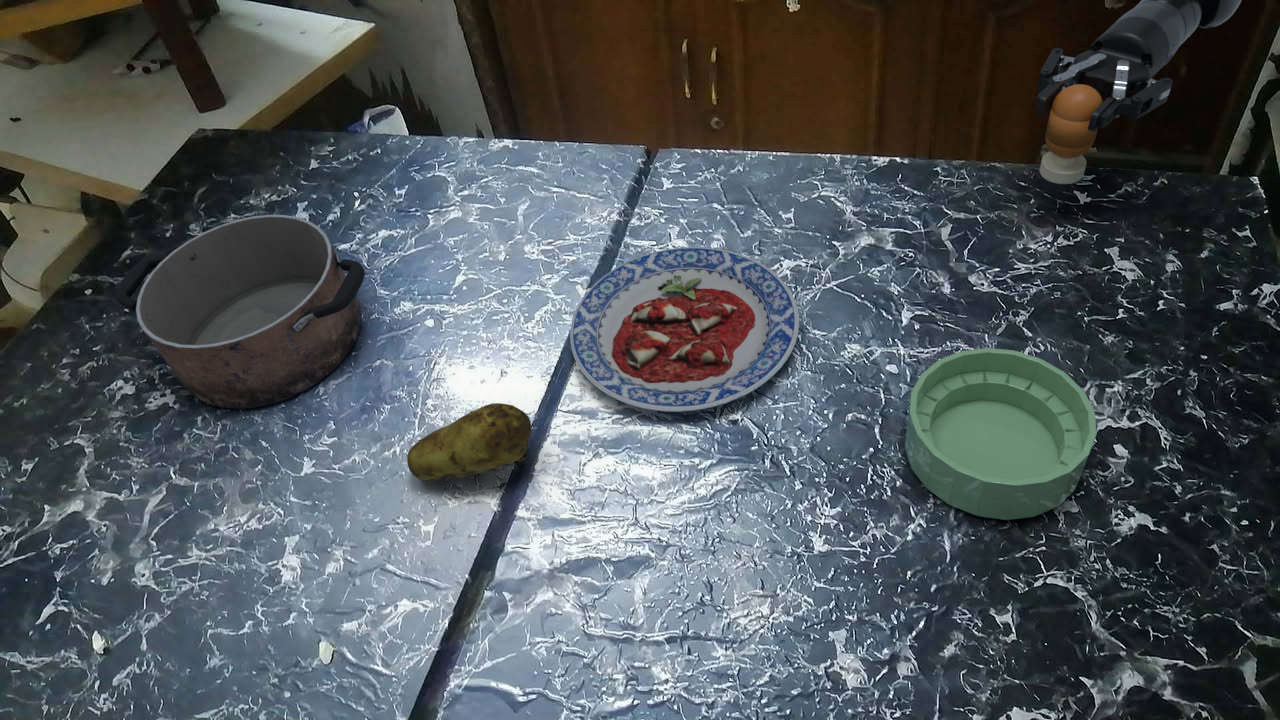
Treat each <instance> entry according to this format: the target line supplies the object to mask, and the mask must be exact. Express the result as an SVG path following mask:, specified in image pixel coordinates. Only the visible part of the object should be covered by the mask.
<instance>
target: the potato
mask: <svg viewBox="0 0 1280 720" xmlns="http://www.w3.org/2000/svg"><path fill="white" fill-rule="evenodd" d="M530 419H531V418H530V417H529V415H528V414H526V412H524V411H523V410H522V409H520V408H518V407H516V406H515V405H513V404H508V403H500V402H495V403H490V404H486V405H483V406H481V407H479V408H476V409H474V410H470V412H468V413H467V414H465V415H463V416H461V417H459V418H457V420H455V421H453V422H452V423H450V424H448V425H445V426H443V427H441V428H438V429H436V430H433V432H430V433H428V434H427V435H425V436H424V437H421V439H418V441H416V442H415V443H414V444H413V445H412V446H411V447H410V449H409V450H408V452H407V455H406V456H407V457H406V461H407V467H408V470H409V472H410V473H411V474H412V476H414V477H415V478H416V479H420V480H423V481H426V482H435V481H440V480H442V479H447V480H448V479H451V478H461V477H469V476H474V475H478V474H481V473H484V472H486V471H490V470H493V469H496V468H498V467H501V466H505V465H508V464H511V463H514V462H515V463H521V462H523V461H525V460H526V459H527V458H528V457H527V453H526V452H527V450H528V448H529V441H530V438H531V435H532V422H531V420H530Z"/></svg>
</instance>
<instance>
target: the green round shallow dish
mask: <svg viewBox="0 0 1280 720" xmlns="http://www.w3.org/2000/svg"><path fill="white" fill-rule="evenodd" d="M1095 411H1096V410H1094V407H1093V406H1092V404H1091V402H1090V400H1089V398H1088V396H1087V394H1086V392H1085V391H1084V389H1083V388H1082V387H1080V385H1078V384H1077V382H1075V380H1073V378H1071V377H1070V376H1069V375H1068V374H1067V373H1066V372H1065V371H1063V370H1061V369H1060V368H1058V367H1057V366H1055V365H1053V364H1051V363H1049V362H1047V361H1046V360H1045V359H1042V358H1040V357H1037V356H1034V355H1030V354H1027V353H1024V352H1021V351H1018V350H1014V349H1004V348H1003V349H1002V348H993V347H982V348H976V349H968V350H960V351H958V352H955V353H952V354H950V355H947V356H945V357H942V358H940V359H938V360H937V361H936V362H934V363H933V364H931V365H930V366H929V367H928V368H927V369H926V370H924V371H923V372H922V373H921V374H920V375H919V377H918V379H917V380H916V383H915V385H914V386H913V388H912V390H911V392H910V399H909V405H908V412H907V418H906V425H905V436H904V437H905V438H904V449H905V450H904V451H905V454H906V456H907V459H908V463H909V466H910V469H911V470H912V472H913V473H914V474H915V475H916V477H917V479H919V481H920V482H921V484H923V486H924V487H925V489H927V490H928V491H929V492H930V493H932V494H933V495H935V496H936V497H937V498H939V499H940V500H942V501H943V502H945V503H946V504H947V505H949V506H950V507H954V508H956V509H959V510H961V511H964V512H966V513H969V514H971V515H973V516H976V517H982V518H987V519H989V518H990V519H996V520H1002V521H1009V520H1010V521H1011V520H1018V519H1027V518H1035V517H1037V516H1039V515H1042V514H1044V513H1046V512H1048V511H1050V510H1053V509H1056V508H1057V507H1059V506H1060V505H1062V504H1063V503H1064V502H1065V501H1066V500H1067V498H1069V497H1070V496H1071V494H1073V493H1074V492H1075V491H1076V489H1077V486H1078V484H1079V481H1080V480H1081V476H1082V474H1083V471H1084V468H1085V466H1086V463H1087V462H1088V461H1087V460H1088V458H1089V455H1090V454H1091V451H1092V448H1093V445H1094V444H1095V440H1096V438H1097V432H1098V431H1097V420H1096V412H1095Z"/></svg>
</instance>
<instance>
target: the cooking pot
mask: <svg viewBox="0 0 1280 720" xmlns="http://www.w3.org/2000/svg"><path fill="white" fill-rule="evenodd" d="M151 270H152V271H151ZM345 272H347V273H345ZM365 273H366V271H365V269H364V267H363V265H362V264H361V263H360V262H358V261H357V260H354V259H353V260H352V259H347V258H343V259H341V256H340V254H338V252H335V250H334V248H333V246H332V244H331V242H330V239H329V237H328V235H327V234H326V233H325V232H324V230H323V229H321V227H319V225H317V224H315V223H313V222H311V221H310V220H307V219H304V218H301V217H298V216H292V215H286V214H263V215H255V216H249V217H244V218H240V219H236V220H233V221H230V222H226V223H223V224H220V225H218V226H215V227H213V228H211V229H208V230H206V231H204V232H201V233H200V234H198V235H197V236H194V237H193V238H191V239H189V240H187V241H185V243H183V244H181V245H180V246H178V247H177V248H176V249H174V250H173V251H172V252H170V253H169V254H163V255H162V254H161V255H151V256H148V257H145V258H143V259H141V260H140V261H138V262H137V263H136V264H135V265H134V266H133V267H132V268H131V269H130V270H129V271H128V273H126V275H125V276H124V278H123V279H122V280H121V282H119V284H118V286H117V288H116V290H115V293H114V297H115V300H116V301H117V302H118V303H119V304H120V305H122V306H123V307H125V308H126V309H129V310H130V311H133V312H135V313H136V319H137V322H138V324H139V326H140V327H141V329H142V331H143V332H144V334H145V335H146V337H148V339H149V341H150V342H151V343H152V344H153V346H154V347H155V349H156V350H157V352H158V353H159V354H160V356H161V357H162V358H163V360H164V361H165V362H166V364H167V365H168V366H169V368H170V369H171V371H172V372H173V373H174V374H175V376H176V377H177V379H178V381H180V383H181V384H182V385H183V387H184V388H185V389H186V390H187V391H188V392H189V393H190V394H191V395H192V396H194V398H196V399H197V400H198V401H199V400H200V401H201V402H203V403H205V404H207V405H211V406H215V407H219V408H223V409H225V408H226V409H243V410H244V409H251V408H252V409H254V408H260V407H266V406H269V405H273V404H277V403H280V402H282V401H285V400H288V399H290V398H293V397H295V396H297V395H299V394H301V393H303V392H306V391H307V390H309V389H310V388H312V387H314V386H315V385H317V384H318V383H319V382H321V381H322V380H324V379H325V378H326V377H327V376H328V375H330V373H332V372H333V371H334V370H336V369H337V367H338V366H339V365H340V364H341V363H342V361H344V360H345V358H346V357H347V356H348V354H349V352H350V351H351V349H352V348H353V346H354V344H355V342H356V340H357V338H358V335H359V333H360V329H361V323H362V312H361V306H360V302H359V301H358V298H357V293H358V292H359V290H360V288H361V286H362V284H363V282H364V279H365V275H366V274H365ZM147 276H148V277H147ZM146 277H147V278H146ZM145 279H146V280H145ZM144 280H145V281H144ZM143 281H144V283H143V284H142V282H143ZM141 284H142V286H141V288H140V291H139V294H138V296H137V299H134V298H131V297H132V296H133V295H134V294H135V292H136V291H137V289H138V288H139V287H140V285H141Z"/></svg>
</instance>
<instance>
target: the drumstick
mask: <svg viewBox="0 0 1280 720" xmlns="http://www.w3.org/2000/svg"><path fill="white" fill-rule="evenodd" d="M1103 102H1104V100H1103V97H1102V96H1100V94H1099V93H1098V92H1097V91H1096V90H1095V89H1094V88H1092V87H1091V86H1088V85H1083V84H1076V85H1072V86H1069V87H1067V88H1065V89H1063V90H1062V91H1061V92H1060V93H1059V94H1058V95H1057V96H1056V97H1055V99H1054V101H1053V103H1052V107H1051V109H1050V110H1049V111H1050V112H1049V116H1048V120H1047V125H1046V130H1045V137H1044V140H1045V145H1046V147H1047V150H1049V151H1047V152H1046V153H1044V154H1043V155H1042V157H1041V161H1040V164H1039V174H1040V175H1041V177H1042V178H1043V179H1044V180H1046V181H1048V182H1050V183H1053V184H1058V185H1069V184H1070V185H1071V184H1075V183H1077V182H1079V181H1081V180H1082V178H1083V177H1084V175H1085V171H1086V168H1087V159H1086V158H1085V156H1083V155H1084V154H1086V153H1087V152H1088V151H1090V149H1091V148H1092V147H1093V145H1094V143H1095V140H1096V137H1097V133H1098V130H1099V128H1098V129H1097V130H1096V131H1095V132H1094V131H1091V130H1088V126H1089V122H1090V118H1091V115H1092V113H1093V112H1094V111H1095V110H1096V109H1097V108H1098V107H1099V106H1100V105H1101V104H1102V103H1103Z"/></svg>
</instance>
